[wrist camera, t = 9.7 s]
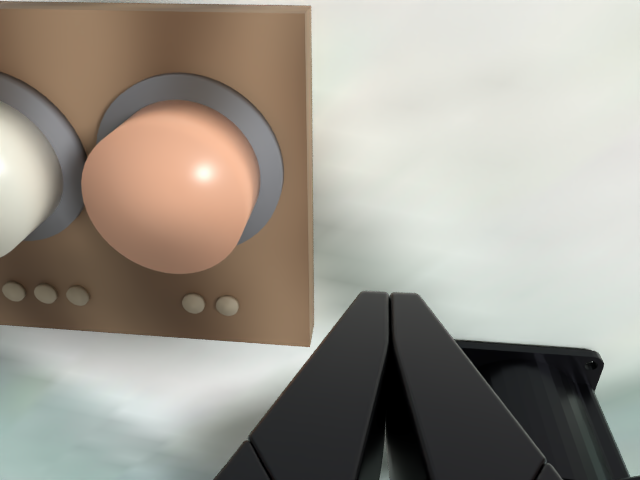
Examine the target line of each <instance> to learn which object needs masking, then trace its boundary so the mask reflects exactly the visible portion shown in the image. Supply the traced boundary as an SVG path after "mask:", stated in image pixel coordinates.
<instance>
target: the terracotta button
mask: <svg viewBox="0 0 640 480" xmlns="http://www.w3.org/2000/svg"><path fill="white" fill-rule="evenodd" d="M81 187H82V196H83V202H84V205H85V208H86V211H87V213H88V215H89V217H90V220H91V221H92V223H93V225H94V226H95V228H96V229H97V231H98V232H99V233H100V235H101V236H102V237H103V238H104V239H105V240H106V241H107V242H108V244H109V245H111V246H112V247H113V248H114V249H115V250H116V251H117V252H119V253H120V254H122V255H123V256H125V257H126V258H128V259H129V260H131V261H133V262H135V263H137V264H139V265H141V266H143V267H146V268H149V269H152V270H155V271H159V272H164V273H171V274H188V273H195V272H199V271H203V270H206V269H209V268H211V267H213V266H215V265H217V264H218V263H220V262H221V261H223V260H224V259H225V258H226V257H227V256H228V255H229V254H230V253H231V252H232V251H233V249H234V248H235V247H236V245H237V243H238V241H239V239H240V237H241V235H242V233H243V230H244V228H245V226H246V224H247V222H248V219H249V217H250V215H251V213H252V210H253V208H254V206H255V204H256V202H257V198H258V195H259V191H260V168H259V164H258V160H257V157H256V155H255V152H254V150H253V148H252V146H251V144H250V143H249V141H248V139H247V138H246V137H245V135H244V134H243V133H242V131H241V130H240V129H239V128H238V127H237V126H236V125H235V124H234V123H233V122H232V121H230V120H229V119H228V118H227V117H225V116H224V115H222V114H221V113H219V112H218V111H216V110H214V109H212V108H210V107H208V106H205V105H202V104H199V103H196V102H191V101H186V100H165V101H159V102H156V103H153V104H150V105H148V106H146V107H144V108H142V109H140V110H139V111H137V112H136V113H135V114H133V115H132V116H131V117H130V118H128V119H127V120H126V121H125V122H124V123H122V124H121V125H120V126H119V127H117V128H116V129H115V130H114V131H112V132H111V133H110V134H109V135H107V136H106V137H105V138H104V139H102V140H101V141H100V142H99V143H98V144H97V145H96V146H95V147H94V148H93V150H92V151H91V153H90V154H89V156H88V158H87V160H86V162H85V165H84V169H83V172H82V180H81Z"/></svg>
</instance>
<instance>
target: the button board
mask: <svg viewBox="0 0 640 480" xmlns="http://www.w3.org/2000/svg"><path fill="white" fill-rule="evenodd" d="M165 100H186V101H191V102H196V103H199V104H202V105H205V106H208V107H210V108H212V109H214V110H216V111H218V112H219V113H221V114H222V115H224V116H225V117H227V118H228V119H229V120H230V121H232V122H233V123H234V124H235V125H236V126H237V127H238V128H239V129H240V130H241V131H242V133H243V134H244V135H245V137H246V138H247V139H248V141H249V143H250V144H251V146H252V148H253V150H254V152H255V155H256V157H257V160H258V164H259V168H260V191H259V195H258V198H257V202H256V204H255V206H254V208H253V210H252V213H251V215H250V217H249V219H248V222H247V224H246V226H245V228H244V230H243V233H242V235H241V237H240V239H239V241H238V243H237V245H236V247H235V248H234V249H233V251H232V252H231V253H230V254H229V255H228V256H227V257H226V258H225V259H224V260H223V261H221V262H220V263H218V264H217V265H215V266H213V267H211V268H209V269H206V270H203V271H199V272H195V273H188V274H171V273H164V272H159V271H155V270H152V269H149V268H146V267H143V266H141V265H139V264H137V263H135V262H133V261H131V260H129V259H128V258H126V257H125V256H123V255H122V254H120V253H119V252H117V251H116V250H115V249H114V248H113V247H112V246H111V245H109V244H108V242H107V241H106V240H105V239H104V238H103V237H102V236H101V235H100V233H99V232H98V231H97V229H96V228H95V226H94V225H93V223H92V221H91V220H90V217H89V215H88V213H87V211H86V208H85V205H84V202H83V196H82V187H81V180H82V172H83V169H84V165H85V162H86V160H87V158H88V156H89V154H90V153H91V151H92V150H93V148H94V147H95V146H96V145H97V144H98V143H99V142H100V141H101V140H102V139H104V138H105V137H106V136H107V135H109V134H110V133H111V132H112V131H114V130H115V129H116V128H117V127H119V126H120V125H121V124H122V123H124V122H125V121H126V120H127V119H128V118H130V117H131V116H132V115H133V114H135V113H136V112H137V111H139V110H140V109H142V108H144V107H146V106H148V105H150V104H153V103H156V102H159V101H165ZM0 101H2V102H4V103H6V104H8V105H10V106H11V107H13V108H15V109H16V110H18V111H19V112H21V113H22V114H23V115H25V116H26V117H27V118H28V119H29V120H31V121H32V122H33V123H34V124H35V125H36V126H37V127H38V128H39V129H40V131H41V132H42V133H43V134H44V135H45V137H46V138H47V139H48V141H49V142H50V144H51V146H52V147H53V149H54V151H55V153H56V155H57V157H58V160H59V163H60V166H61V169H62V174H63V193H62V197H61V200H60V202H59V205H58V206H57V208H56V209H55V211H54V212H53V213H52V214H51V215H50V216H49V217H48V218H47V219H46V220H45V221H43V222H42V223H41V224H40V225H39V226H38V227H37V228H36V229H35V230H34V231H32V232H31V233H30V234H29V235H28V236H27V237H26V238H25V239H24V240H23V241H21V242H20V243H19V244H18V245H17V246H16V247H15V248H14V249H13V250H12V251H10V252H9V253H7V254H6V255H4V256H2V257H0V325H12V326H25V327H39V328H53V329H67V330H81V331H95V332H108V333H122V334H136V335H150V336H164V337H178V338H191V339H205V340H219V341H233V342H247V343H261V344H275V345H288V346H302V347H310V344H311V338H312V332H313V327H314V268H313V163H312V59H311V6H295V5H225V4H156V3H86V2H17V1H0Z"/></svg>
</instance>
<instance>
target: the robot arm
mask: <svg viewBox="0 0 640 480" xmlns="http://www.w3.org/2000/svg"><path fill="white" fill-rule="evenodd" d="M591 361H593V362H592V363H588V362H591ZM586 363H588V364H586ZM603 367H604V363H603V360H602V358H601V356H600V354H599V353H597V352H596V351H592V350H578V349H564V348H550V347H535V346H521V345H507V344H492V343H478V342H463V341H455V340H454V339H453V338H452V336H451V335H450V334H449V333H448V331H447V330H446V329H445V327H444V326H443V325H442V324H441V322H440V321H439V320H438V318H437V317H436V316H435V315H434V313H433V312H432V311H431V309H430V308H429V307H428V306H427V304H426V303H425V302H424V300H423V299H422V298H421V297H420V295H418V294H417V293H402V292H393V293H391V295H390V298H389V294H388V293H387V292H379V291H362V292H361V293H360V294H359V295H358V296H357V297H356V299H355V300H354V301H353V303H352V304H351V305H350V306H349V308H348V309H347V310H346V312H345V313H344V314H343V315H342V317H341V318H340V319H339V321H338V322H337V323H336V324H335V326H334V327H333V328H332V330H331V331H330V332H329V333H328V335H327V336H326V337H325V338H324V340H323V341H322V342H321V344H320V345H319V346H318V347H317V349H316V350H315V351H314V353H313V354H312V355H311V356H310V358H309V359H308V360H307V362H306V363H305V364H304V365H303V367H302V368H301V369H300V371H299V372H298V373H297V374H296V376H295V377H294V378H293V380H292V381H291V382H290V383H289V385H288V386H287V387H286V388H285V390H284V391H283V392H282V394H281V395H280V396H279V397H278V399H277V400H276V401H275V403H274V404H273V405H272V406H271V408H270V409H269V410H268V412H267V413H266V414H265V415H264V417H263V418H262V419H261V421H260V422H259V423H258V424H257V426H256V427H255V428H254V430H253V431H252V432H251V433H250V435H249V436H248V441H244V442H243V443H242V444H241V446H240V447H239V448H238V450H237V451H236V452H235V453H234V455H233V456H232V457H231V459H230V460H229V461H228V463H227V464H226V465H225V466H224V467H223V469H222V470H221V471H220V472H219V473H218V475H217V476H216V477H215V478H214V479H213V480H379V478H380V471H381V464H382V458H383V449H384V440H385V422H386V450H387V461H388V470H389V479H390V480H640V476H634V477H630V475H629V472H628V470H627V468H626V465H625V463H624V461H623V458H622V456H621V454H620V451H619V449H618V447H617V444H616V442H615V440H614V437H613V435H612V433H611V430H610V428H609V426H608V423H607V421H606V419H605V416H604V414H603V412H602V409H601V407H600V405H599V402H598V400H597V398H596V395H595V393H594V391H595V389H596V386H597V383H598V381H599V378H600V375H601V372H602V370H603Z"/></svg>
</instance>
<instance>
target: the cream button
mask: <svg viewBox="0 0 640 480" xmlns="http://www.w3.org/2000/svg"><path fill="white" fill-rule="evenodd" d="M62 193H63V174H62V169H61V166H60V163H59V160H58V157H57V155H56V153H55V151H54V149H53V147H52V146H51V144H50V142H49V141H48V139H47V138H46V137H45V135H44V134H43V133H42V132H41V131H40V129H39V128H38V127H37V126H36V125H35V124H34V123H33V122H32V121H31V120H29V119H28V118H27V117H26V116H25V115H23V114H22V113H21V112H19V111H18V110H16V109H15V108H13V107H11V106H10V105H8V104H6V103H4V102H2V101H0V257H2V256H4V255H6V254H7V253H9V252H10V251H12V250H13V249H14V248H15V247H16V246H17V245H18V244H19V243H20V242H21V241H23V240H24V239H25V238H26V237H27V236H28V235H29V234H30V233H31V232H32V231H34V230H35V229H36V228H37V227H38V226H39V225H40V224H41V223H42V222H43V221H45V220H46V219H47V218H48V217H49V216H50V215H51V214H52V213H53V212H54V211H55V209H56V208H57V206H58V205H59V202H60V200H61V197H62Z"/></svg>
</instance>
